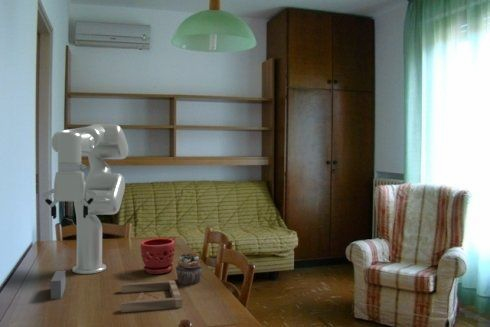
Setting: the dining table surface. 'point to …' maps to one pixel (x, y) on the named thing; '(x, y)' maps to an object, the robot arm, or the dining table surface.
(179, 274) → the cupcake
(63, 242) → the dining table surface
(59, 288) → the block
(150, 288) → the walnut frame
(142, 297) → the shard
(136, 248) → the dining table surface
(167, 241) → the plant pot
